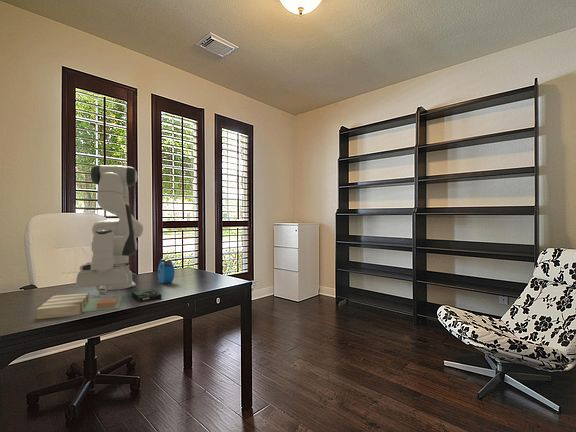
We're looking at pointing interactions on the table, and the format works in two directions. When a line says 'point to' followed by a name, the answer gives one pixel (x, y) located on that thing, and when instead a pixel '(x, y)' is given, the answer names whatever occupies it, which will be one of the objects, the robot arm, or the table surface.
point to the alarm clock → (165, 271)
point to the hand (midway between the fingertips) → (102, 295)
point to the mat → (92, 306)
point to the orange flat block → (107, 302)
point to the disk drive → (146, 295)
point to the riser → (63, 306)
